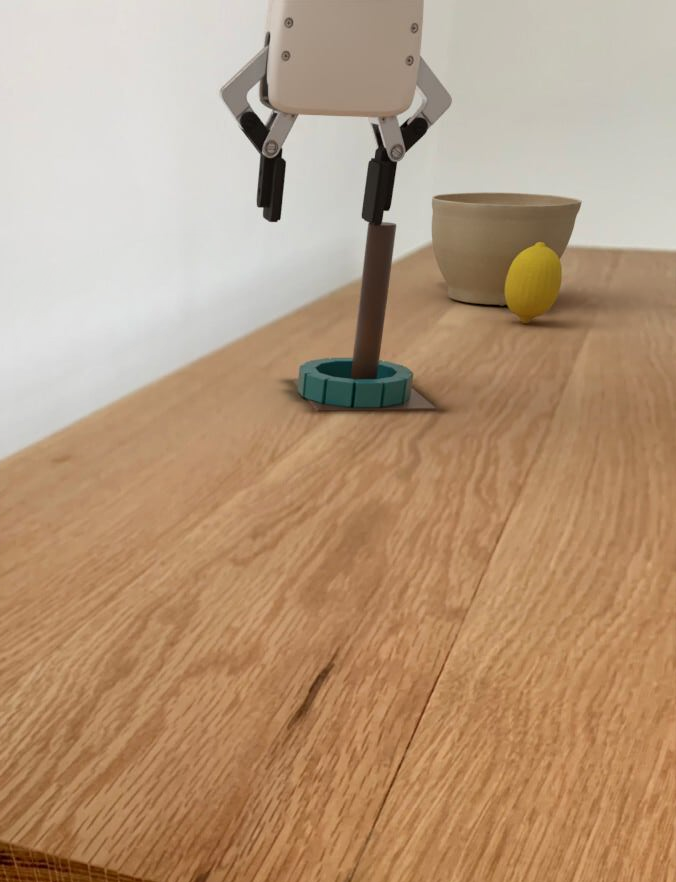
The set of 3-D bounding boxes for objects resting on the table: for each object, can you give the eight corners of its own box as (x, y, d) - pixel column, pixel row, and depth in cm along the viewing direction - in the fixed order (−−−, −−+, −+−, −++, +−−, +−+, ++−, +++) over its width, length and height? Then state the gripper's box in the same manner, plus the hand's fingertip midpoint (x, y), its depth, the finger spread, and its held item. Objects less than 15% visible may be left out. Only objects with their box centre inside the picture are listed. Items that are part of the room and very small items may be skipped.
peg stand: (399, 397, 91) (424, 216, 84) (433, 428, 83) (464, 231, 76) (291, 398, 90) (307, 216, 83) (315, 429, 82) (335, 231, 75)
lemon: (552, 330, 115) (569, 246, 111) (497, 326, 117) (512, 243, 112) (552, 320, 120) (568, 240, 115) (499, 317, 121) (513, 237, 117)
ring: (391, 380, 89) (394, 357, 89) (422, 407, 82) (426, 382, 81) (289, 380, 89) (291, 357, 88) (311, 408, 82) (313, 383, 81)
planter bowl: (537, 289, 137) (556, 191, 131) (579, 314, 123) (602, 206, 117) (406, 287, 137) (420, 189, 132) (434, 311, 123) (450, 203, 118)
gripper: (470, -77, 74) (423, 217, 83) (212, -89, 72) (194, 211, 82) (512, -89, 67) (456, 231, 77) (230, -103, 66) (208, 225, 75)
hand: (321, 218), depth 79 cm, fingers open, 6 cm apart
